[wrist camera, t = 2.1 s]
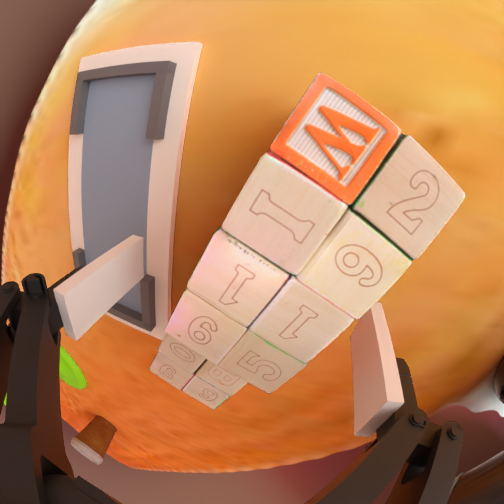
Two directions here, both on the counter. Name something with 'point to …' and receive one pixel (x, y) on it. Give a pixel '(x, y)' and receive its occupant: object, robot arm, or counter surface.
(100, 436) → the disposable coffee cup
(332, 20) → the counter surface
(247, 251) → the stack of blocks
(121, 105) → the blueprint board
